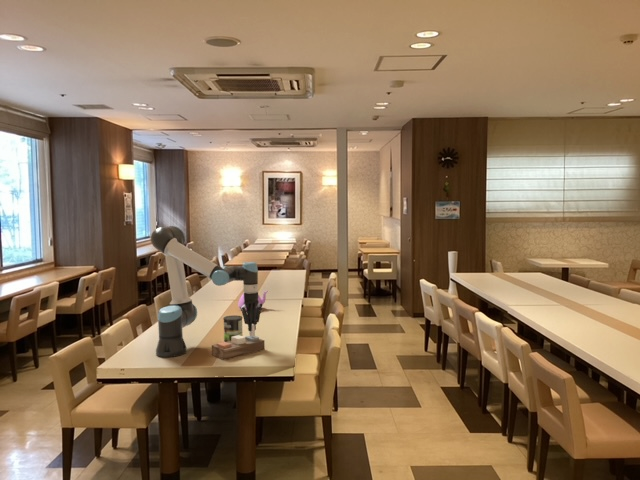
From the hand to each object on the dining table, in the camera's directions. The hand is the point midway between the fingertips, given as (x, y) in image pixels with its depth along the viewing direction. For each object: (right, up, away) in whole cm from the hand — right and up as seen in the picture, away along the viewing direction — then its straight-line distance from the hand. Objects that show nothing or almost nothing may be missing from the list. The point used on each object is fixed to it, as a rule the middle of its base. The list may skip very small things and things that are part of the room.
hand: (252, 336), depth 262 cm
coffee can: (-12, -6, +13) cm, 18 cm away
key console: (-6, -7, -5) cm, 11 cm away
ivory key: (-6, -2, -6) cm, 9 cm away
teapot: (-12, 0, +98) cm, 99 cm away
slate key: (0, -3, 0) cm, 3 cm away
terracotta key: (-13, -4, -11) cm, 17 cm away
